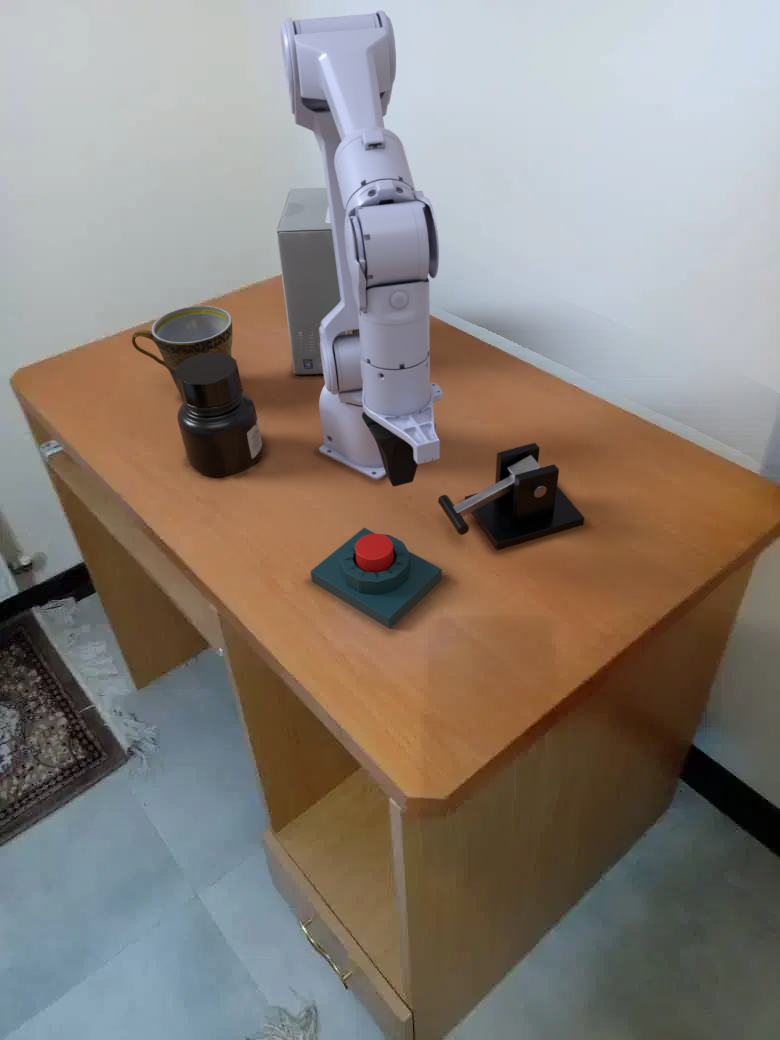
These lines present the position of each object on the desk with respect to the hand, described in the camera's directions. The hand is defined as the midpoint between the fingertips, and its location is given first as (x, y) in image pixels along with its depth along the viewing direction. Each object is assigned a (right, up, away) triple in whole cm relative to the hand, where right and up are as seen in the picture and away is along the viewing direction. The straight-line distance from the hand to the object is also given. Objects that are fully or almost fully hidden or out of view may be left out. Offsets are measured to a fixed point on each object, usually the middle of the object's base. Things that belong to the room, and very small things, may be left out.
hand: (400, 480), depth 74 cm
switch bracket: (+13, -3, +10) cm, 17 cm away
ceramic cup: (-27, +13, +31) cm, 43 cm away
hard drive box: (-10, +21, +39) cm, 45 cm away
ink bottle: (-21, +4, +20) cm, 29 cm away
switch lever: (+10, -2, +7) cm, 12 cm away
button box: (-2, -10, +3) cm, 11 cm away
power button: (-2, -8, +1) cm, 8 cm away
